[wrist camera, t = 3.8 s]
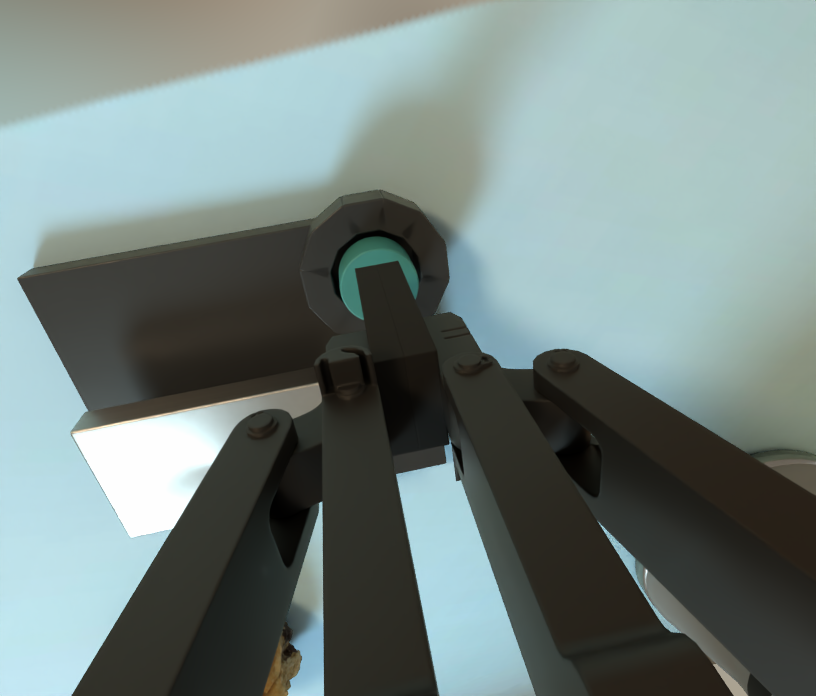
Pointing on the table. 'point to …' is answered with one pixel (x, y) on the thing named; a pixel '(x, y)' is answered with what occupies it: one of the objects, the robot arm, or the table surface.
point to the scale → (224, 304)
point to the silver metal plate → (176, 442)
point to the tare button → (367, 255)
